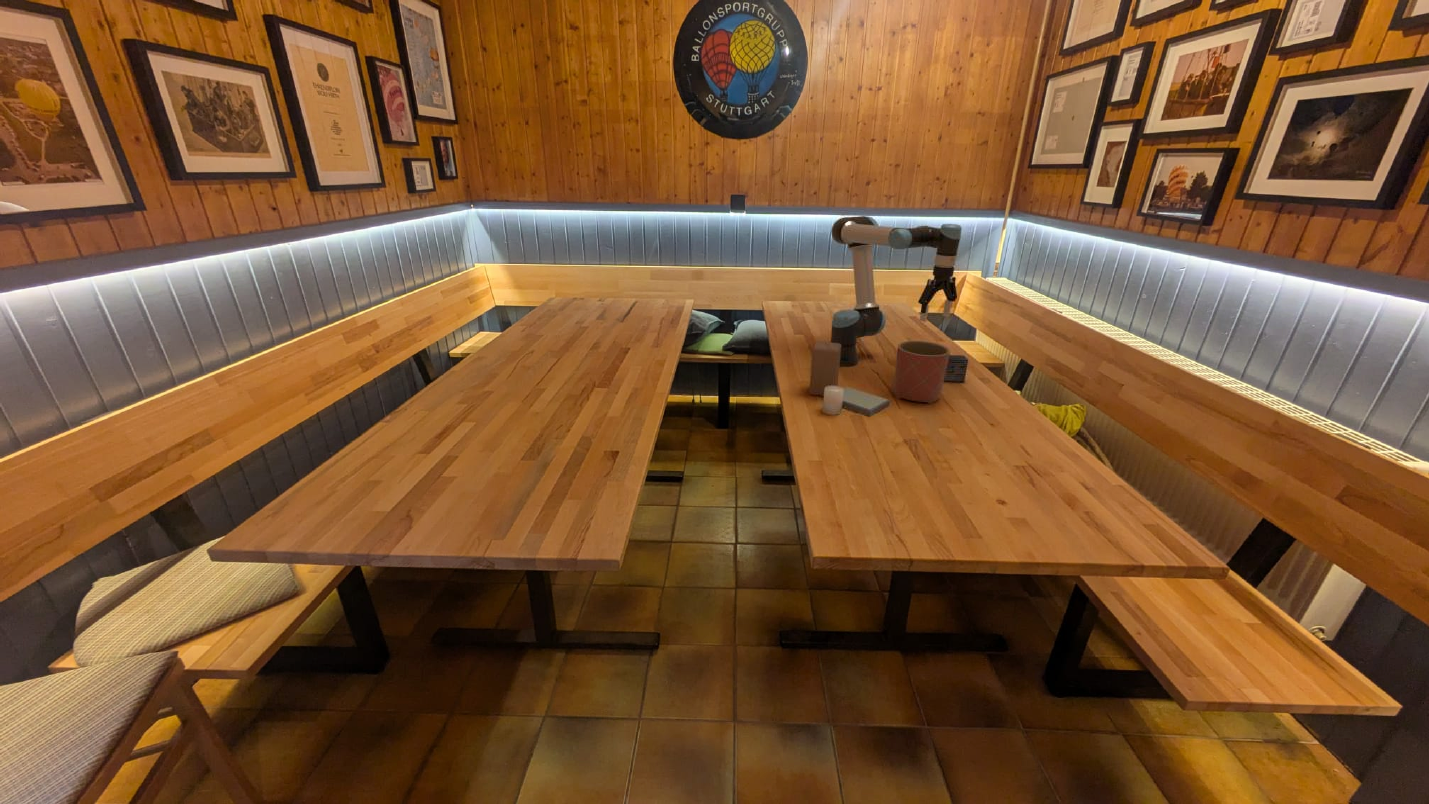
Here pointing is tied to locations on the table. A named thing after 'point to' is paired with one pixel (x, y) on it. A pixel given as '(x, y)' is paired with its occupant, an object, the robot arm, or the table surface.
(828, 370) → the wooden block
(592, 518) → the table surface
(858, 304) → the robot arm
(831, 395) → the white rounded cylinder
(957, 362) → the small box
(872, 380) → the table surface
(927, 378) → the planter
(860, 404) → the grey rectangular slab
